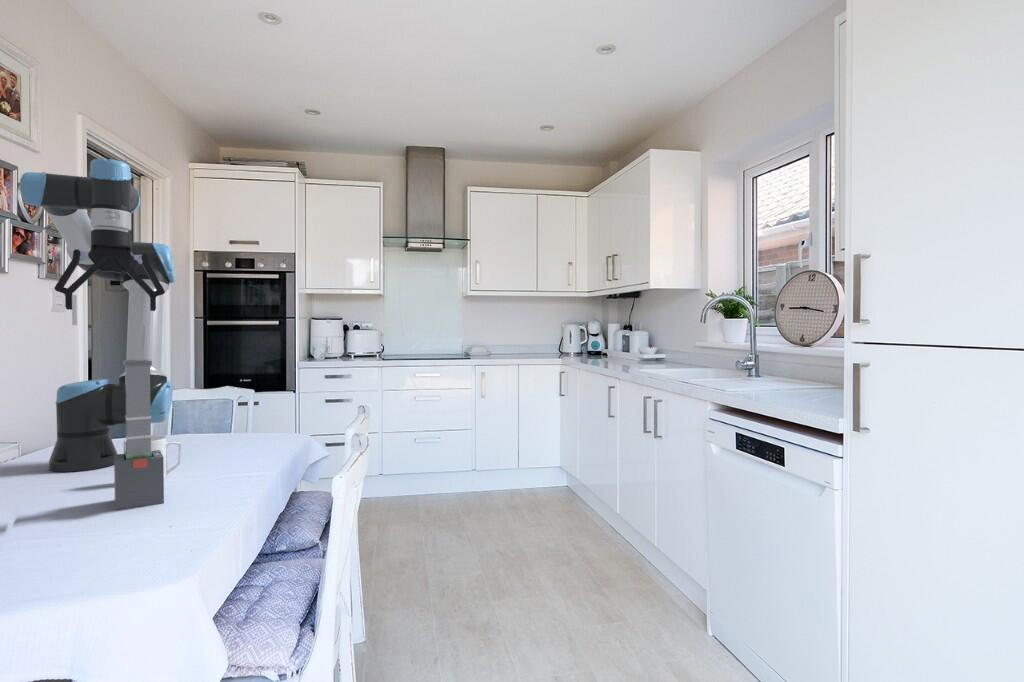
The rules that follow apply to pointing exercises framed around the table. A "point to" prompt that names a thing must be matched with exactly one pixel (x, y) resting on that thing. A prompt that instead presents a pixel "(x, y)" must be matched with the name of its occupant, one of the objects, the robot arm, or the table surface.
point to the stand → (138, 481)
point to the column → (137, 409)
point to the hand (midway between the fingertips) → (112, 325)
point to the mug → (162, 450)
